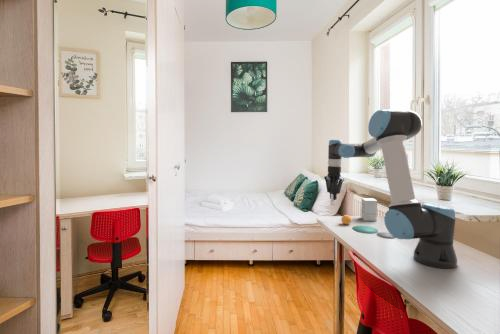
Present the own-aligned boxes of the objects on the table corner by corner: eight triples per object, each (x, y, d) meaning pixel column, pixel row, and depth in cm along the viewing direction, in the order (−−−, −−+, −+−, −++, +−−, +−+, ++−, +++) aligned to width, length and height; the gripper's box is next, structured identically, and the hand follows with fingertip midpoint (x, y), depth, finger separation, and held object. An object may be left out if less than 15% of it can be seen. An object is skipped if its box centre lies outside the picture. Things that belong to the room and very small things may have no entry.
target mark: (382, 230, 160) (382, 229, 160) (369, 235, 152) (369, 234, 152) (361, 224, 170) (361, 224, 170) (347, 228, 162) (347, 228, 162)
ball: (353, 224, 170) (353, 215, 169) (347, 226, 167) (347, 216, 166) (344, 222, 174) (345, 213, 174) (339, 223, 171) (339, 214, 170)
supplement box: (372, 217, 184) (373, 198, 183) (376, 221, 177) (377, 200, 175) (360, 217, 185) (361, 197, 184) (364, 220, 177) (364, 200, 176)
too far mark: (399, 236, 150) (399, 235, 150) (390, 239, 145) (390, 239, 145) (382, 231, 158) (382, 231, 158) (373, 234, 152) (373, 234, 152)
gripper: (347, 166, 172) (345, 205, 174) (329, 164, 182) (328, 201, 185) (339, 167, 167) (338, 207, 170) (321, 165, 177) (320, 203, 180)
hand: (332, 204), depth 177 cm, fingers closed
